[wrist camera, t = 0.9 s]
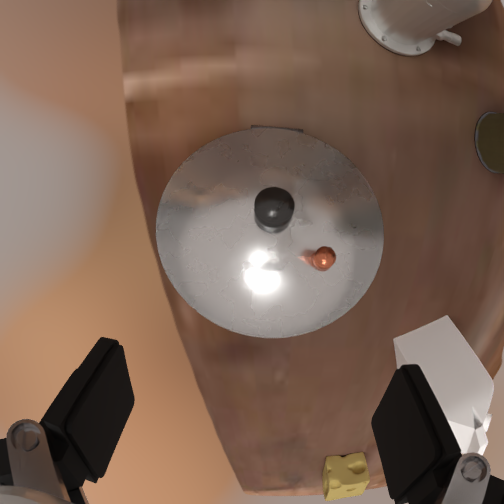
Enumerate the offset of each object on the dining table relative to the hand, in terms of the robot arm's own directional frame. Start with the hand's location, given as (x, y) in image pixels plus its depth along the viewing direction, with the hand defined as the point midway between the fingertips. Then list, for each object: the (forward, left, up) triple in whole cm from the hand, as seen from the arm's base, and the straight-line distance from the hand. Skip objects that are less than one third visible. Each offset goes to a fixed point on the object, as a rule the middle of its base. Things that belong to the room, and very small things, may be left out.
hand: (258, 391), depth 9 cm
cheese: (-27, +65, -34) cm, 78 cm away
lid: (-1, -1, -18) cm, 18 cm away
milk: (-33, +25, -34) cm, 54 cm away
